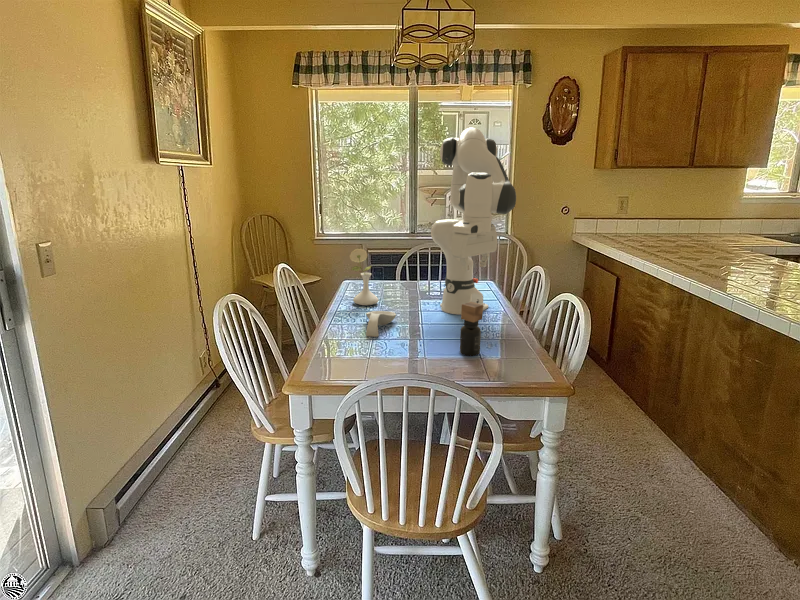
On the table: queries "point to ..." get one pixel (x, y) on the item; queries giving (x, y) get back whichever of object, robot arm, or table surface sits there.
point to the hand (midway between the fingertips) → (474, 268)
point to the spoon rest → (378, 321)
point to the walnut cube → (472, 311)
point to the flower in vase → (365, 295)
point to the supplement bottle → (470, 339)
